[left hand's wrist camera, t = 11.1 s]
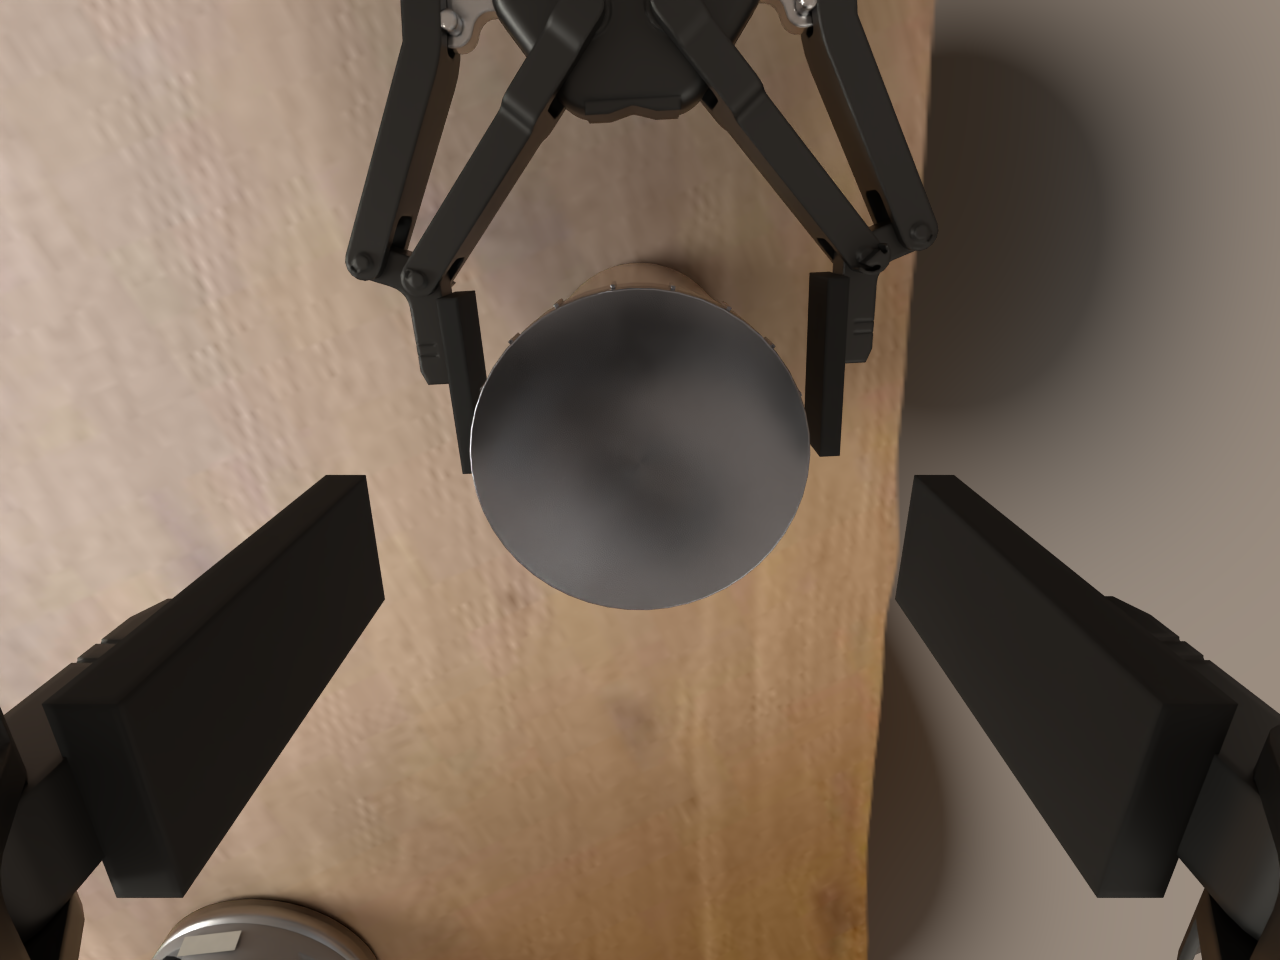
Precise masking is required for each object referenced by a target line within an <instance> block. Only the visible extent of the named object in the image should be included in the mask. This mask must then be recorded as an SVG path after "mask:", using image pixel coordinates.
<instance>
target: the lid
mask: <svg viewBox="0 0 1280 960" xmlns="http://www.w3.org/2000/svg"><path fill="white" fill-rule="evenodd" d="M509 343H510V344H511V345H510V346H509V347H508V348H507V349H506V350H505V351H504V353H503V354H502V356H501V357H500V358H499V360H498V361H497V363H496V364H495V365H494V367H493V368H492V370H491V372H490V374H489V376H488V378H487V380H486V382H485V384H484V385H483V386H482V387H481V389H480V391H481V393H480V396H479V399H478V402H477V404H476V407H475V412H474V417H473V422H472V427H471V438H470V460H471V472H472V476H473V481H474V485H475V490H476V493H477V496H478V499H479V502H480V504H481V507H482V510H483V512H484V514H485V516H486V518H487V520H488V522H489V523H490V525H491V527H492V529H493V531H494V532H495V534H496V535H497V536H498V538H499V539H500V541H501V542H502V544H503V545H504V546H505V548H506V549H507V550H508V551H509V552H510V553H511V554H512V555H513V556H514V557H515V558H516V560H517V561H518V562H519V563H521V564H522V565H523V566H524V567H525V568H526V569H528V570H529V571H530V572H531V573H532V574H533V575H535V576H536V577H538V578H539V579H541V580H542V581H544V582H545V583H547V584H548V585H550V586H551V587H553V588H555V589H557V590H559V591H561V592H563V593H565V594H567V595H569V596H572V597H575V598H577V599H580V600H583V601H586V602H588V603H592V604H597V605H601V606H605V607H610V608H618V609H626V610H652V609H662V608H670V607H675V606H679V605H684V604H688V603H691V602H694V601H697V600H700V599H703V598H706V597H708V596H710V595H713V594H715V593H717V592H719V591H721V590H723V589H725V588H727V587H728V586H730V585H732V584H733V583H735V582H736V581H738V580H739V579H741V578H743V577H744V576H745V575H746V574H748V573H749V572H750V571H751V570H752V569H754V568H755V567H756V566H757V565H759V564H760V563H761V562H762V560H763V559H764V558H765V557H766V556H767V555H768V554H769V553H770V552H771V551H772V550H773V549H774V547H775V546H776V545H777V543H778V542H779V541H780V539H781V538H782V537H783V535H784V534H785V532H786V531H787V529H788V527H789V525H790V523H791V522H792V520H793V518H794V516H795V514H796V512H797V509H798V507H799V504H800V502H801V499H802V497H803V493H804V489H805V485H806V481H807V477H808V470H809V461H810V433H809V428H808V422H807V416H806V411H805V408H804V405H803V402H802V399H801V396H802V394H801V392H800V391H799V390H798V388H797V386H796V384H795V382H794V380H793V378H792V376H791V374H790V372H789V370H788V369H787V367H786V366H785V364H784V363H783V361H782V360H781V358H780V357H779V355H778V354H777V352H776V351H775V350H774V349H773V348H774V347H775V345H774V344H773V343H772V342H771V341H770V340H769V339H767V338H766V337H764V338H763V337H762V336H761V335H760V334H759V333H758V332H757V331H756V330H755V329H754V328H753V327H752V326H750V325H749V324H748V323H747V322H746V321H744V320H743V319H742V318H741V317H740V316H738V315H737V314H736V313H735V312H733V311H732V310H731V307H730V306H729V305H728V304H727V303H725V302H724V301H723V302H722V304H720V303H719V302H717V301H715V300H713V299H711V298H708V297H706V296H704V295H702V294H700V293H697V292H694V291H691V290H687V289H684V288H681V287H677V286H675V284H674V283H673V282H669V285H665V284H659V283H639V282H630V283H622V284H617V283H616V281H612V283H611V285H607V286H604V287H600V288H596V289H592V290H589V291H586V292H583V293H581V294H579V295H576V296H574V297H571V298H569V299H567V300H565V301H563V299H560V300H558V301H557V302H556V303H555V304H554V307H553V308H551V309H550V310H548V311H547V312H546V313H544V314H543V315H542V316H541V317H539V318H538V319H537V320H535V321H534V322H533V323H532V324H531V325H529V326H528V327H527V328H526V329H525V330H524V331H523V332H522V333H521V334H519V333H517V334H516V335H515V336H514V337H513V338H512V339H511V340H510V341H509Z"/></svg>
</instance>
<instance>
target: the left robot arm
mask: <svg viewBox="0 0 1280 960" xmlns="http://www.w3.org/2000/svg"><path fill="white" fill-rule="evenodd" d="M384 600H385V597H384V590H383V584H382V577H381V571H380V565H379V558H378V552H377V545H376V539H375V532H374V526H373V519H372V513H371V506H370V500H369V494H368V487H367V481H366V475H325V476H324V477H323V478H322V479H321V480H319V481H318V482H317V483H316V484H314V485H313V486H312V487H311V488H309V489H308V490H307V491H306V492H304V493H303V494H302V495H301V496H299V497H298V498H297V499H296V500H294V501H293V502H292V503H291V504H289V505H288V506H287V507H286V508H284V509H283V510H282V511H281V512H280V513H278V514H277V515H276V516H275V517H273V518H272V519H271V520H270V521H268V522H267V523H266V524H265V525H263V526H262V527H261V528H260V529H258V530H257V531H256V532H255V533H253V534H252V535H251V536H250V537H248V538H247V539H246V540H245V541H243V542H242V543H241V544H240V545H238V546H237V547H236V548H235V549H234V550H232V551H231V552H230V553H229V554H227V555H226V556H225V557H224V558H222V559H221V560H220V561H219V562H217V563H216V564H215V565H214V566H212V567H211V568H210V569H209V570H207V571H206V572H205V573H204V574H202V575H201V576H200V577H199V578H197V579H196V580H195V581H194V582H193V583H191V584H190V585H189V586H188V587H186V588H185V589H184V590H183V591H181V592H180V593H179V594H178V595H176V596H175V597H174V598H173V599H166V600H164V601H162V602H160V603H158V604H156V605H154V606H152V607H150V608H148V609H146V610H144V611H142V612H140V613H138V614H136V615H134V616H132V617H130V618H129V619H127V620H126V621H125V622H123V623H122V624H121V625H120V626H118V627H117V628H116V629H114V630H113V631H112V632H111V633H109V634H108V635H107V636H105V637H104V638H103V639H102V642H101V644H95V645H94V646H92V647H91V648H90V649H89V650H87V651H86V652H85V653H83V654H82V655H81V656H80V657H78V661H77V663H71V664H69V665H68V666H67V667H65V668H64V669H63V670H62V671H60V672H59V673H58V674H56V675H55V676H54V677H52V678H51V679H50V680H49V681H47V682H46V683H45V684H43V685H42V686H41V687H40V688H38V689H37V690H36V691H34V692H33V693H32V694H31V695H29V696H28V697H27V698H25V699H24V700H23V701H21V702H20V703H19V704H18V705H16V706H15V707H14V708H12V709H11V710H10V711H9V712H7V713H6V714H5V715H3V713H2V710H1V708H0V960H78V958H79V951H80V945H81V939H82V933H83V926H84V920H85V919H84V912H83V906H82V903H81V900H80V898H79V895H78V893H77V889H78V888H79V887H80V886H81V885H82V884H83V882H84V881H85V880H86V879H87V878H88V876H89V875H90V874H91V873H92V872H93V870H94V869H95V868H96V867H97V866H98V865H99V863H100V862H101V861H103V864H104V866H105V869H106V871H107V874H108V876H109V879H110V882H111V884H112V887H113V889H114V892H115V894H116V897H117V898H183V897H184V895H185V894H186V892H187V891H188V889H189V888H190V886H191V885H192V883H193V882H194V880H195V879H196V877H197V876H198V874H199V873H200V872H201V870H202V869H203V867H204V866H205V864H206V863H207V861H208V860H209V858H210V857H211V855H212V854H213V852H214V851H215V849H216V848H217V846H218V845H219V843H220V842H221V841H222V839H223V838H224V836H225V835H226V833H227V832H228V830H229V829H230V827H231V826H232V824H233V823H234V821H235V820H236V818H237V817H238V815H239V814H240V812H241V811H242V809H243V808H244V807H245V805H246V804H247V802H248V801H249V799H250V798H251V796H252V795H253V793H254V792H255V790H256V789H257V787H258V786H259V784H260V783H261V781H262V780H263V778H264V777H265V776H266V774H267V773H268V771H269V770H270V768H271V767H272V765H273V764H274V762H275V761H276V759H277V758H278V756H279V755H280V753H281V752H282V750H283V749H284V747H285V746H286V745H287V743H288V742H289V740H290V739H291V737H292V736H293V734H294V733H295V731H296V730H297V728H298V727H299V725H300V724H301V722H302V721H303V719H304V718H305V716H306V715H307V714H308V712H309V711H310V709H311V708H312V706H313V705H314V703H315V702H316V700H317V699H318V697H319V696H320V694H321V693H322V691H323V690H324V688H325V687H326V685H327V684H328V682H329V681H330V680H331V678H332V677H333V675H334V674H335V672H336V671H337V669H338V668H339V666H340V665H341V663H342V662H343V660H344V659H345V657H346V656H347V654H348V653H349V651H350V650H351V649H352V647H353V646H354V644H355V643H356V641H357V640H358V638H359V637H360V635H361V634H362V632H363V631H364V629H365V628H366V626H367V625H368V623H369V622H370V620H371V619H372V618H373V616H374V615H375V613H376V612H377V610H378V609H379V607H380V606H381V604H382V603H383V601H384ZM895 600H896V601H897V603H898V604H899V606H900V607H901V609H902V610H903V612H904V613H905V615H906V616H907V617H908V619H909V620H910V622H911V623H912V625H913V626H914V628H915V629H916V631H917V632H918V634H919V635H920V637H921V638H922V640H923V641H924V643H925V644H926V645H927V647H928V648H929V650H930V651H931V653H932V654H933V656H934V657H935V659H936V660H937V662H938V663H939V665H940V666H941V668H942V669H943V671H944V672H945V674H946V675H947V677H948V678H949V680H950V681H951V682H952V684H953V685H954V687H955V688H956V690H957V691H958V693H959V694H960V696H961V697H962V699H963V700H964V702H965V703H966V705H967V706H968V708H969V709H970V711H971V712H972V713H973V715H974V716H975V718H976V719H977V721H978V722H979V724H980V725H981V727H982V728H983V730H984V731H985V733H986V734H987V736H988V737H989V739H990V740H991V742H992V743H993V745H994V746H995V747H996V749H997V750H998V752H999V753H1000V755H1001V756H1002V758H1003V759H1004V761H1005V762H1006V764H1007V765H1008V767H1009V768H1010V770H1011V771H1012V773H1013V774H1014V776H1015V777H1016V778H1017V780H1018V781H1019V783H1020V784H1021V786H1022V787H1023V789H1024V790H1025V792H1026V793H1027V795H1028V796H1029V798H1030V799H1031V801H1032V802H1033V804H1034V805H1035V807H1036V808H1037V809H1038V811H1039V812H1040V814H1041V815H1042V817H1043V818H1044V820H1045V821H1046V823H1047V824H1048V826H1049V827H1050V829H1051V830H1052V832H1053V833H1054V835H1055V836H1056V838H1057V839H1058V841H1059V842H1060V843H1061V845H1062V846H1063V848H1064V849H1065V851H1066V852H1067V854H1068V855H1069V857H1070V858H1071V860H1072V861H1073V863H1074V864H1075V866H1076V867H1077V869H1078V870H1079V872H1080V873H1081V874H1082V876H1083V877H1084V879H1085V880H1086V882H1087V883H1088V885H1089V886H1090V888H1091V889H1092V891H1093V892H1094V894H1095V895H1096V897H1097V898H1163V897H1164V894H1165V892H1166V889H1167V887H1168V884H1169V882H1170V879H1171V876H1172V874H1173V871H1174V869H1175V866H1176V863H1177V861H1178V858H1180V859H1181V861H1182V862H1183V863H1184V864H1185V865H1186V867H1187V868H1188V869H1189V870H1190V871H1191V872H1192V874H1193V875H1194V876H1195V877H1196V878H1197V879H1198V881H1199V882H1200V883H1201V884H1202V885H1203V887H1204V891H1203V893H1202V895H1201V898H1200V900H1199V903H1198V905H1197V907H1196V910H1195V912H1194V915H1193V917H1192V920H1191V922H1190V924H1189V927H1188V929H1187V932H1186V934H1185V936H1184V939H1183V941H1182V944H1181V946H1180V948H1179V951H1178V957H1177V960H1193V959H1194V956H1195V955H1196V954H1198V953H1201V955H1202V960H1280V714H1279V713H1278V712H1276V711H1275V710H1274V709H1272V708H1271V707H1270V706H1269V705H1267V704H1266V703H1265V702H1263V701H1262V700H1261V699H1259V698H1258V697H1257V696H1256V695H1254V694H1253V693H1252V692H1250V691H1249V690H1248V689H1246V688H1245V687H1244V686H1243V685H1241V684H1240V683H1239V682H1237V681H1236V680H1235V679H1233V678H1232V677H1231V676H1230V675H1228V674H1227V673H1226V672H1224V671H1223V670H1222V669H1220V668H1219V667H1218V666H1217V665H1215V664H1214V663H1213V662H1211V661H1210V660H1204V658H1203V655H1202V654H1201V653H1200V652H1198V651H1197V650H1196V649H1194V648H1193V647H1192V646H1190V645H1189V644H1188V643H1187V642H1185V641H1180V640H1179V636H1177V635H1176V634H1175V633H1174V632H1172V631H1171V630H1170V629H1168V628H1167V627H1166V626H1164V625H1163V624H1162V623H1161V622H1159V621H1158V620H1157V619H1155V618H1154V617H1153V616H1151V615H1150V614H1148V613H1146V612H1144V611H1142V610H1140V609H1138V608H1136V607H1134V606H1131V605H1129V604H1127V603H1125V602H1123V601H1121V600H1119V599H1117V598H1115V597H1113V596H1104V595H1102V594H1101V593H1100V592H1099V591H1097V590H1096V589H1095V588H1094V587H1092V586H1091V585H1090V584H1089V583H1087V582H1086V581H1085V580H1084V579H1082V578H1081V577H1080V576H1079V575H1077V574H1076V573H1075V572H1074V571H1073V570H1071V569H1070V568H1069V567H1068V566H1066V565H1065V564H1064V563H1063V562H1061V561H1060V560H1059V559H1058V558H1056V557H1055V556H1054V555H1053V554H1051V553H1050V552H1049V551H1048V550H1046V549H1045V548H1044V547H1043V546H1041V545H1040V544H1039V543H1038V542H1037V541H1035V540H1034V539H1033V538H1032V537H1030V536H1029V535H1028V534H1027V533H1025V532H1024V531H1023V530H1022V529H1020V528H1019V527H1018V526H1017V525H1015V524H1014V523H1013V522H1012V521H1010V520H1009V519H1008V518H1007V517H1005V516H1004V515H1003V514H1002V513H1000V512H999V511H998V510H997V509H996V508H994V507H993V506H992V505H991V504H989V503H988V502H987V501H986V500H984V499H983V498H982V497H981V496H979V495H978V494H977V493H976V492H974V491H973V490H972V489H971V488H969V487H968V486H967V485H966V484H964V483H963V482H962V481H961V480H959V479H958V478H957V477H956V476H954V475H914V481H913V487H912V494H911V500H910V507H909V513H908V520H907V526H906V532H905V539H904V545H903V552H902V558H901V565H900V571H899V577H898V584H897V591H896V597H895ZM152 960H377V959H376V957H375V955H374V954H373V953H372V951H371V950H370V949H369V947H368V946H367V945H366V944H365V943H364V942H363V941H362V940H361V939H360V938H359V937H358V936H357V935H356V934H354V933H353V932H352V931H350V930H349V929H348V928H346V927H345V926H343V925H342V924H340V923H339V922H337V921H335V920H333V919H331V918H330V917H327V916H325V915H323V914H321V913H319V912H316V911H314V910H311V909H308V908H305V907H302V906H298V905H295V904H291V903H286V902H280V901H273V900H263V899H241V900H231V901H225V902H220V903H216V904H213V905H209V906H206V907H204V908H201V909H199V910H197V911H195V912H193V913H191V914H189V915H188V916H186V917H185V918H184V919H182V920H181V921H180V922H179V923H178V924H177V925H176V926H175V927H174V928H173V929H172V930H171V932H170V933H169V934H168V936H167V937H166V939H165V941H164V942H163V944H162V945H161V947H160V948H159V950H158V951H157V953H156V954H155V956H154V957H153V959H152Z"/></svg>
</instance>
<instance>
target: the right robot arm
mask: <svg viewBox="0 0 1280 960" xmlns="http://www.w3.org/2000/svg"><path fill="white" fill-rule="evenodd" d="M759 3H766V4H769V5H771V6H772V7H773V8H775V10H776V11H777V13H778V14H779V17H780V20H781V23H782V26H783V27H784V29H785V30H786V31H788V32H789V33H791V34H801V40H802V44H803V49H804V53H805V57H806V60H807V62H808V65H809V68H810V71H811V73H812V76H813V78H814V80H815V83H816V85H817V88H818V90H819V93H820V95H821V97H822V100H823V102H824V105H825V107H826V110H827V112H828V114H829V117H830V119H831V122H832V124H833V126H834V129H835V131H836V134H837V136H838V139H839V141H840V143H841V146H842V148H843V151H844V153H845V156H846V158H847V160H848V163H849V165H850V168H851V170H852V173H853V175H854V177H855V180H856V182H857V185H858V187H859V190H860V192H861V194H862V197H863V199H864V202H865V204H866V206H867V209H868V211H869V214H870V216H871V219H872V221H873V223H874V225H872V226H870V227H868V226H867V225H866V223H865V222H864V221H863V219H862V218H861V217H860V215H859V214H858V213H857V212H856V210H855V209H854V208H853V206H852V205H851V204H850V202H849V201H848V200H847V198H846V197H845V196H844V195H843V193H842V192H841V191H840V189H839V188H838V187H837V185H836V184H835V183H834V182H833V180H832V179H831V178H830V176H829V175H828V174H827V172H826V171H825V170H824V168H823V167H822V166H821V165H820V163H819V162H818V161H817V159H816V158H815V157H814V155H813V154H812V153H811V152H810V150H809V149H808V148H807V146H806V145H805V144H804V142H803V141H802V140H801V138H800V137H799V136H798V135H797V133H796V132H795V131H794V129H793V128H792V127H791V125H790V124H789V123H788V121H787V120H786V119H785V118H784V116H783V115H782V114H781V112H780V111H779V110H778V108H777V107H776V106H775V105H774V103H773V102H772V101H771V99H770V98H769V97H768V95H767V94H766V92H765V90H764V87H763V84H762V82H761V80H760V79H759V77H758V76H757V74H756V73H755V72H754V71H753V69H752V68H751V67H750V65H749V64H748V63H747V61H746V60H745V59H744V57H743V56H742V55H741V54H740V52H739V51H738V50H737V48H736V47H735V46H734V44H735V43H736V41H737V39H738V38H739V36H740V34H741V33H742V31H743V29H744V28H745V26H746V24H747V23H748V21H749V19H750V18H751V16H752V14H753V12H754V10H755V9H756V7H757V5H758V4H759ZM401 18H402V36H403V42H402V46H401V50H400V53H399V57H398V61H397V65H396V68H395V72H394V76H393V80H392V83H391V87H390V91H389V95H388V98H387V102H386V106H385V110H384V113H383V117H382V121H381V125H380V128H379V132H378V136H377V140H376V143H375V147H374V151H373V155H372V158H371V162H370V166H369V170H368V174H367V177H366V181H365V185H364V189H363V192H362V196H361V200H360V204H359V207H358V211H357V215H356V219H355V222H354V226H353V230H352V234H351V237H350V241H349V245H348V249H347V252H346V259H345V263H346V266H347V269H348V271H349V272H350V273H351V275H352V276H354V277H355V278H357V279H359V280H364V281H367V280H371V281H374V282H377V283H381V284H384V285H387V286H391V287H393V288H395V289H397V290H399V291H400V292H401V293H402V294H403V295H404V296H405V297H406V299H407V301H408V302H409V306H410V311H411V316H412V322H413V328H414V334H415V340H416V344H417V352H418V355H419V357H418V358H419V364H420V370H421V373H422V375H423V376H424V378H425V380H426V382H427V383H428V385H434V384H449V388H450V394H451V401H452V407H453V414H454V420H455V427H456V433H457V440H458V446H459V453H460V459H461V465H462V472H463V474H472V472H471V460H470V438H471V427H472V422H473V417H474V412H475V407H476V404H477V402H478V399H479V396H480V393H481V391H480V389H481V387H482V386H483V385H484V384H485V382H486V380H487V377H486V370H485V362H484V355H483V347H482V340H481V332H480V325H479V318H478V310H477V303H476V295H475V291H459V292H453V293H452V289H451V287H452V286H453V285H454V284H455V282H454V281H453V280H454V279H455V277H456V276H457V274H458V272H459V271H460V269H461V268H462V266H463V265H464V263H465V261H466V260H467V258H468V257H469V255H470V254H471V252H472V251H473V249H474V247H475V246H476V244H477V243H478V241H479V240H480V238H481V236H482V235H483V233H484V232H485V230H486V229H487V227H488V225H489V224H490V222H491V221H492V219H493V218H494V216H495V214H496V213H497V211H498V210H499V208H500V207H501V205H502V204H503V202H504V200H505V199H506V197H507V196H508V194H509V193H510V191H511V189H512V188H513V186H514V185H515V183H516V182H517V180H518V178H519V177H520V175H521V174H522V172H523V171H524V169H525V167H526V166H527V164H528V163H529V161H530V160H531V158H532V157H533V155H534V153H535V152H536V150H537V149H538V147H539V146H540V144H541V143H542V142H543V140H544V139H546V138H547V136H548V135H549V134H550V133H551V131H552V130H553V128H554V127H555V125H556V123H557V122H558V120H559V119H560V117H561V116H562V114H563V112H564V111H565V109H567V110H568V111H569V112H571V113H572V114H573V115H575V116H577V117H579V118H581V119H584V120H588V121H589V123H590V124H591V123H608V122H613V121H616V120H619V119H622V118H624V117H627V116H630V115H639V116H643V117H647V118H651V119H655V120H660V119H678V117H679V115H681V114H683V113H685V112H687V111H689V110H690V109H692V108H693V107H694V106H695V105H696V104H697V103H698V102H699V101H701V103H702V104H703V105H704V106H705V108H706V109H707V110H708V111H709V113H710V114H711V115H712V116H713V118H714V119H715V120H716V121H717V123H718V124H719V125H720V126H721V127H722V128H724V129H725V130H726V131H727V132H728V133H729V134H730V135H731V136H732V138H733V139H734V140H735V141H736V143H737V144H738V145H739V146H740V148H741V149H742V150H743V151H744V153H745V154H746V155H747V156H748V158H749V159H750V160H751V161H752V163H753V164H754V165H755V166H756V168H757V169H758V170H759V171H760V173H761V174H762V175H763V176H764V178H765V179H766V180H767V181H768V183H769V184H770V185H771V186H772V188H773V189H774V190H775V191H776V193H777V194H778V195H779V196H780V198H781V199H782V200H783V202H784V203H785V204H786V205H787V207H788V208H789V209H790V210H791V212H792V213H793V214H794V215H795V217H796V218H797V219H798V220H799V222H800V223H801V224H802V225H803V227H804V228H805V229H806V230H807V232H808V233H809V234H810V235H811V237H812V238H813V239H814V240H815V242H816V243H817V244H818V245H819V247H820V248H821V249H822V250H823V252H824V253H825V254H826V255H827V257H828V258H829V259H830V260H831V262H832V263H833V273H832V272H815V273H810V276H809V303H808V330H807V358H806V385H805V411H806V416H807V422H808V428H809V433H810V445H811V446H812V447H813V448H814V450H815V451H816V452H817V454H818V455H819V456H820V457H823V456H840V441H841V424H842V407H843V389H844V372H845V363H861V362H866V360H867V358H868V356H869V354H870V352H871V350H872V341H873V327H874V313H875V299H876V285H877V278H878V275H879V273H880V272H882V271H883V270H884V269H885V268H886V267H887V266H888V264H889V262H890V261H892V260H894V259H897V258H899V257H901V256H904V255H906V254H908V253H911V252H913V251H921V250H924V249H927V248H928V247H929V246H931V245H932V244H933V242H934V241H935V239H936V237H937V234H938V225H937V221H936V219H935V216H934V213H933V211H932V208H931V206H930V203H929V200H928V198H927V195H926V192H925V190H924V187H923V185H922V182H921V179H920V177H919V174H918V171H917V169H916V166H915V164H914V161H913V158H912V156H911V153H910V150H909V148H908V145H907V143H906V140H905V137H904V135H903V132H902V129H901V127H900V124H899V122H898V119H897V116H896V114H895V111H894V108H893V106H892V103H891V101H890V98H889V95H888V93H887V90H886V87H885V85H884V82H883V80H882V77H881V74H880V72H879V69H878V66H877V64H876V61H875V59H874V56H873V53H872V51H871V48H870V45H869V43H868V40H867V38H866V35H865V32H864V30H863V27H862V24H861V22H860V19H859V17H858V13H857V0H401ZM492 19H499V20H500V22H501V23H502V24H503V26H504V27H505V29H506V30H507V32H508V33H509V34H510V36H511V37H512V38H513V40H514V41H515V42H516V44H517V45H518V46H519V48H520V49H521V50H522V52H523V53H524V54H525V56H526V57H527V58H526V59H525V61H524V63H523V64H522V66H521V67H520V69H519V71H518V72H517V74H516V76H515V77H514V79H513V81H512V82H511V84H510V86H509V87H508V89H507V91H506V93H505V94H504V97H503V99H502V103H501V107H500V109H499V111H498V113H497V115H496V116H495V118H494V120H493V121H492V123H491V125H490V126H489V128H488V129H487V131H486V133H485V134H484V136H483V138H482V139H481V141H480V143H479V144H478V146H477V148H476V149H475V151H474V152H473V154H472V156H471V157H470V159H469V161H468V162H467V164H466V166H465V167H464V169H463V171H462V172H461V174H460V175H459V177H458V179H457V180H456V182H455V184H454V185H453V187H452V189H451V190H450V192H449V193H448V195H447V197H446V198H445V200H444V202H443V203H442V205H441V207H440V208H439V210H438V212H437V213H436V215H435V216H434V218H433V220H432V221H431V223H430V225H429V226H428V228H427V230H426V231H425V233H424V235H423V236H422V238H421V239H420V241H419V243H418V244H417V246H416V248H415V249H414V251H413V252H411V251H408V250H407V249H408V246H409V243H410V239H411V236H412V233H413V229H414V226H415V222H416V219H417V216H418V212H419V209H420V206H421V202H422V199H423V196H424V192H425V189H426V185H427V182H428V179H429V175H430V172H431V169H432V165H433V162H434V158H435V155H436V152H437V148H438V145H439V142H440V138H441V135H442V131H443V128H444V125H445V121H446V118H447V115H448V111H449V108H450V105H451V101H452V98H453V94H454V91H455V87H456V83H457V79H458V74H459V66H460V54H467V53H469V52H471V51H472V50H473V49H474V48H475V47H476V45H477V43H478V40H479V35H480V31H481V29H482V27H483V26H484V25H485V24H486V23H487V22H488V21H490V20H492Z"/></svg>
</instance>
